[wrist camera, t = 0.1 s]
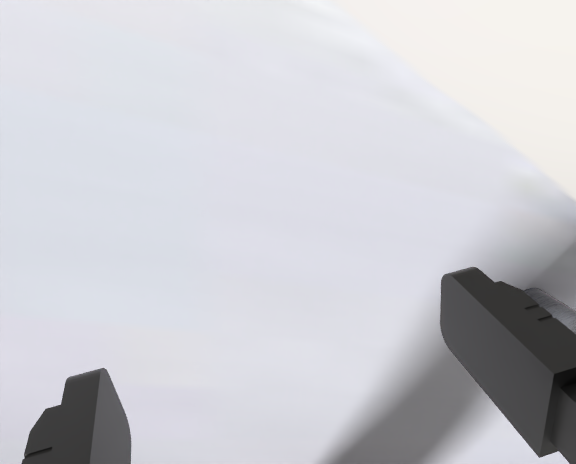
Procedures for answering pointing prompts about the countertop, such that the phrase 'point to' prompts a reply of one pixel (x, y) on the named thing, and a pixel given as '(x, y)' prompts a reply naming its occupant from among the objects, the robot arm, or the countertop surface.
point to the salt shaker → (554, 307)
